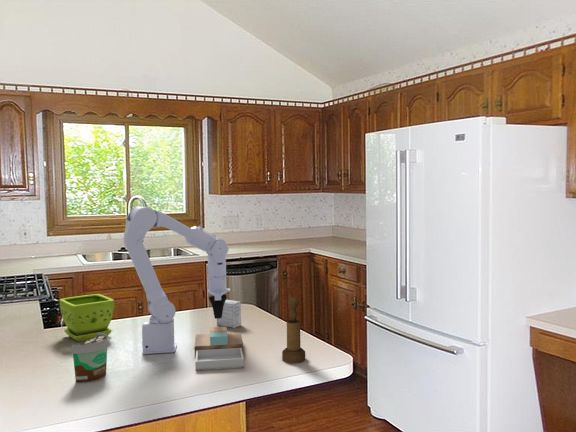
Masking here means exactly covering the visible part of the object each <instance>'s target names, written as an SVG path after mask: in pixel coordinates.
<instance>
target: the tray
mask: <svg viewBox="0 0 576 432" xmlns="http://www.w3.org/2000/svg"><path fill="white" fill-rule="evenodd" d="M194 359H195V360H194V361H195V364H194V365H195V366H194V368H195V371H197V372H198V371H212V370H213V371H214V370H227V369H229V370H230V369H242V368H243V369H244V368H245V365H244V364H245V359H244V351H243V352H242V348H227V349H210V350H196V358H194Z"/></svg>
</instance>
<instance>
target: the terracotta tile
mask: <svg viewBox="0 0 576 432" xmlns="http://www.w3.org/2000/svg"><path fill="white" fill-rule="evenodd" d="M209 329H210V330H209V333H210V332H224V331H227V332H228V327H226V326H213V327H212V326H210V327H209Z"/></svg>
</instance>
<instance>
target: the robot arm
mask: <svg viewBox="0 0 576 432" xmlns="http://www.w3.org/2000/svg"><path fill="white" fill-rule="evenodd" d="M153 227H157V228H158V227H163V228H166V229H168V230H170V231H172V232H174V233H176V234H178V235H181V236H183V237H184V238H185V241H186V243H187V244H189V245H191V246H193V247H195V248H197V249H199V250H201V251H203V252H205V253H206V254H207V282H208V283H207V284H208V286H207V287H208V289H207V293H208V294H209V296H208V301H209V302H210V304H211V307H212V310H213V311H212V312H213V316H214V319H216V320H217V318H222V313H223V307H224V303H225V301H226V300H228V298H227V294H226V293H229V292H231V288H227V260H226V259H227V258H226V257H227V254H228V253H229V250H230V249H229V247H228V243H227V242H226V240H224V239H222V238H217V235H216V234H214V233H212V234H211V233H210V232H207V231H205V230H204V229H205V228H204V227H202V226H201V225H200V226H192V227H189V226H187V225H185V224H184V223H182V222H181V221H180V220H179V221H178V220H176V219H175V218H173V217H172V216H170V215H168V214H166V213H163V212H161V211H159V210H155V209H152V208H151V207H148V206H141V205H140V206H139V205H138V206H135V207H133V208H132V209H131V210H130V211H129V212H128V214H127V216H126V218H125V227H124V233H123V243H124V246H125V248H126V251H127V252H128V255H129V257H130V260H131V262H132V264H133V266H134V269H135V271H136V274H137V276H138V278H139V281H140V283H141V285H142V287H143V290H144V293H145V297H146V300H147V310H148V312H149V314H150V318H149V320H147V321H143V322H142V326H141V327H142V328H141V336H142V337H141V340H142V341H141V344H142V345H141V347H142V354H143V355H149V354H151V355H153V354H165V353H166V354H167V353H168V354H169V353H175V352H176V348H177V346H178V345H177V344H178V343H177V342H175V318H174V317H175V316H176V311H177V309H176V307H175V305H174V303H172V302H171V301H170V300H169V299H168V297H167V294H166V292H164V289H163V288H162V286H161V282H160V281H159V278H158V276H157V273H156V270H155V269H154V267H153V264H152V262H151V259H150V257H149V255H148V252H147V250H146V247H145V245H144V243H143V240H145V236H146V235H147V233H148V232H149V231H150V230H151V229H152V228H153Z"/></svg>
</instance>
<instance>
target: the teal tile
mask: <svg viewBox="0 0 576 432" xmlns="http://www.w3.org/2000/svg"><path fill="white" fill-rule="evenodd" d="M227 333H228V330H227V331H224V332H210V331H209V334H210V346H211V345H228V336H227Z"/></svg>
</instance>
